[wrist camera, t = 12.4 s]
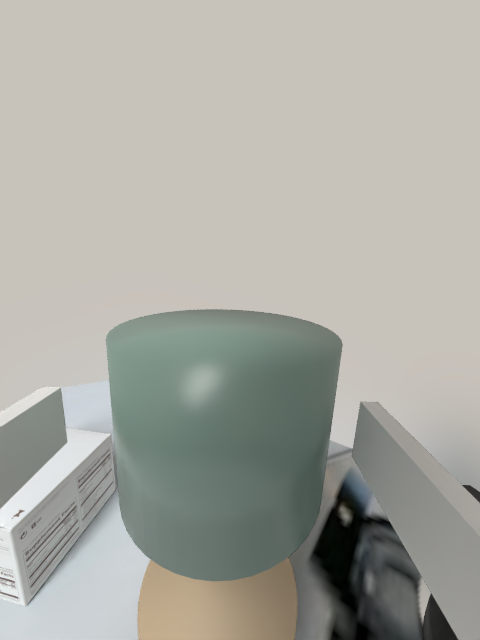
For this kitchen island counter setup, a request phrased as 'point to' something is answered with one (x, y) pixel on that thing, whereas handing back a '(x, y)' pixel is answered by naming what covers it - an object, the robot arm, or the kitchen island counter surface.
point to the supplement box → (53, 512)
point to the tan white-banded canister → (218, 606)
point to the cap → (221, 436)
